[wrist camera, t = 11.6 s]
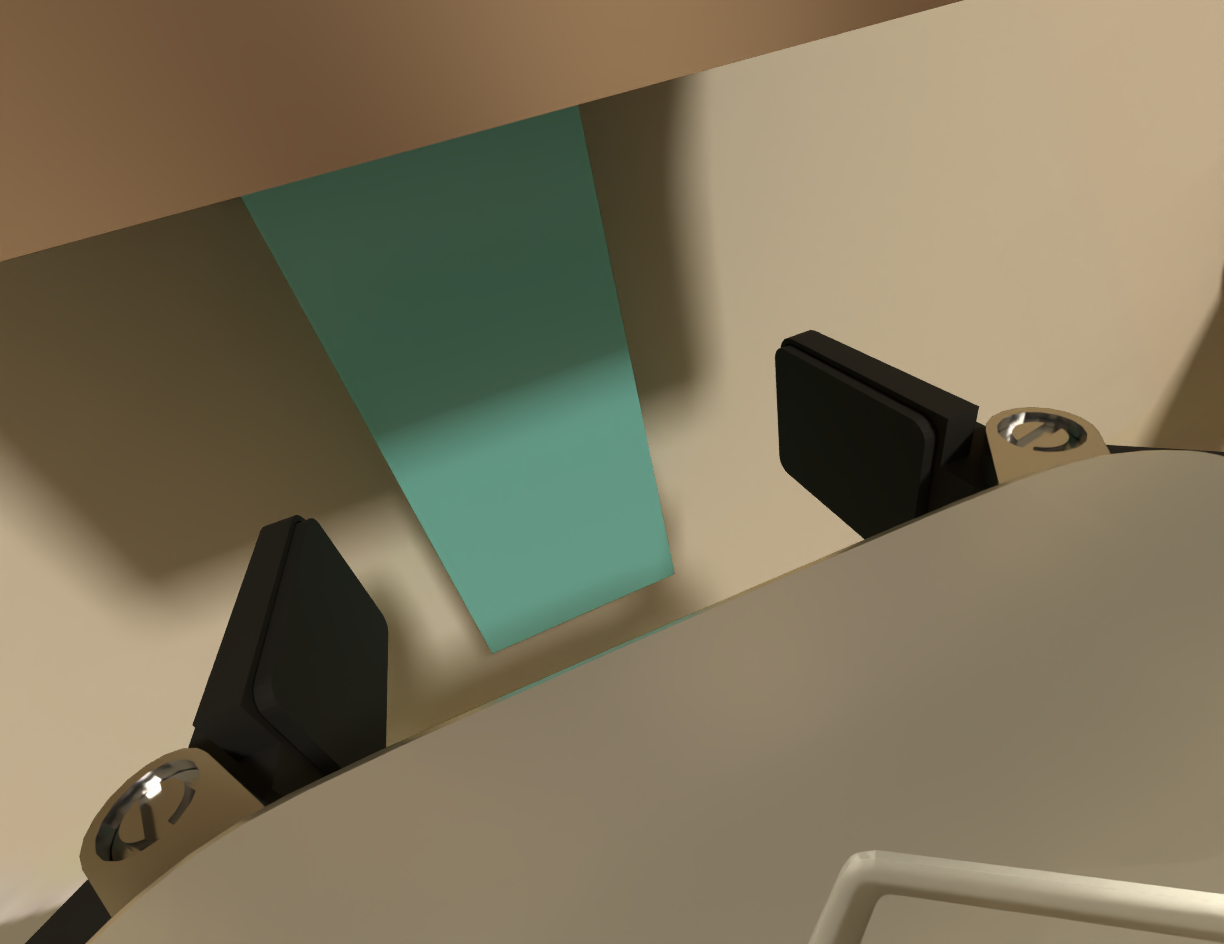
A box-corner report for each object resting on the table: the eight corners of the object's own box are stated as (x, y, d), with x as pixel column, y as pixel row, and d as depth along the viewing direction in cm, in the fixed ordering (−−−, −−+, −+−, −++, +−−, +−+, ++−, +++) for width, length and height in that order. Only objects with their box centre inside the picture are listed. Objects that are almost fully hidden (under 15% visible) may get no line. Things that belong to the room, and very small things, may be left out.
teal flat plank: (442, -237, 10) (471, -416, 7) (628, 505, 20) (674, 573, 17) (90, -186, 9) (-71, -366, 6) (473, 568, 19) (492, 653, 16)
